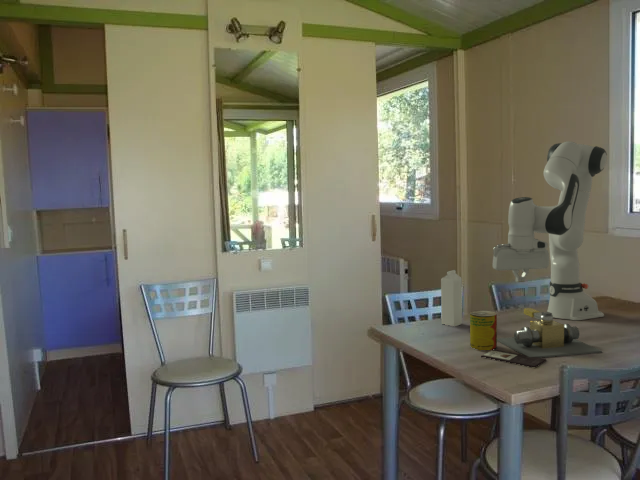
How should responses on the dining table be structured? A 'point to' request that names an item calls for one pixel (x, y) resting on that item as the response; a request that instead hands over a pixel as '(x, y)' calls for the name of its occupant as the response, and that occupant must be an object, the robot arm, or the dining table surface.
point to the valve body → (546, 334)
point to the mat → (535, 351)
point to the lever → (539, 315)
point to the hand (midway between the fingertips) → (520, 281)
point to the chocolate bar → (514, 358)
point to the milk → (451, 299)
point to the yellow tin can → (483, 330)
